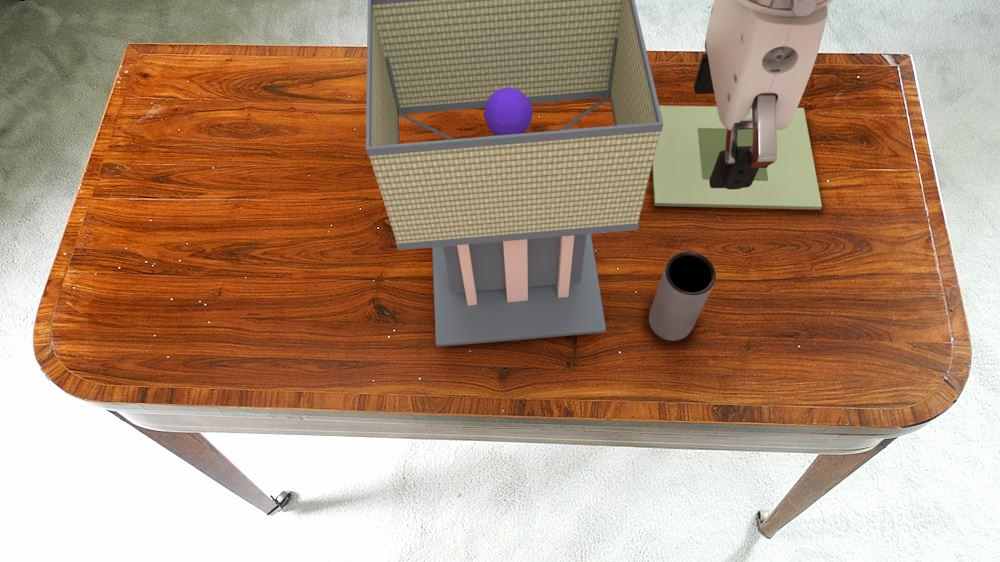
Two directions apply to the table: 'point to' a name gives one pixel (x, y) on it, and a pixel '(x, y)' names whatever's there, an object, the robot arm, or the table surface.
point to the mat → (695, 150)
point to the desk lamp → (510, 154)
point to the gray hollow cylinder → (681, 295)
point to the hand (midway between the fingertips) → (720, 136)
